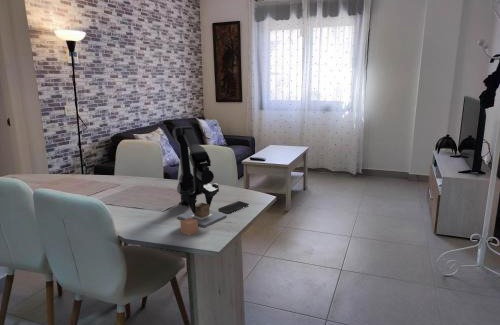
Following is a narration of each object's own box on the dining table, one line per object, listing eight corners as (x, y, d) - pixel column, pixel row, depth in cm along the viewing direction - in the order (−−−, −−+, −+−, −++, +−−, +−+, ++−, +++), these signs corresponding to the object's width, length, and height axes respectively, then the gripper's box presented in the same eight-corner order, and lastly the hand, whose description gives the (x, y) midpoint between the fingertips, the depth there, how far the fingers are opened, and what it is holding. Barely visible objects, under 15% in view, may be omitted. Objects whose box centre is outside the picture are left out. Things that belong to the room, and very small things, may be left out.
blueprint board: (177, 217, 163) (177, 215, 162) (199, 208, 173) (199, 206, 173) (204, 227, 152) (204, 224, 151) (226, 217, 162) (226, 214, 162)
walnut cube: (194, 215, 162) (193, 205, 161) (202, 212, 166) (201, 202, 164) (201, 218, 159) (201, 207, 158) (209, 214, 163) (209, 204, 161)
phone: (217, 208, 171) (238, 200, 182) (217, 211, 171) (238, 202, 182) (228, 212, 166) (250, 204, 176) (228, 215, 166) (250, 206, 177)
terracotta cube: (181, 232, 147) (180, 221, 146) (190, 228, 151) (189, 217, 150) (189, 235, 144) (188, 224, 143) (198, 231, 148) (197, 220, 147)
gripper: (197, 185, 146) (199, 220, 150) (227, 175, 160) (228, 208, 164) (179, 181, 153) (181, 215, 156) (209, 172, 167) (211, 203, 171)
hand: (201, 210), depth 162 cm, fingers open, 9 cm apart
